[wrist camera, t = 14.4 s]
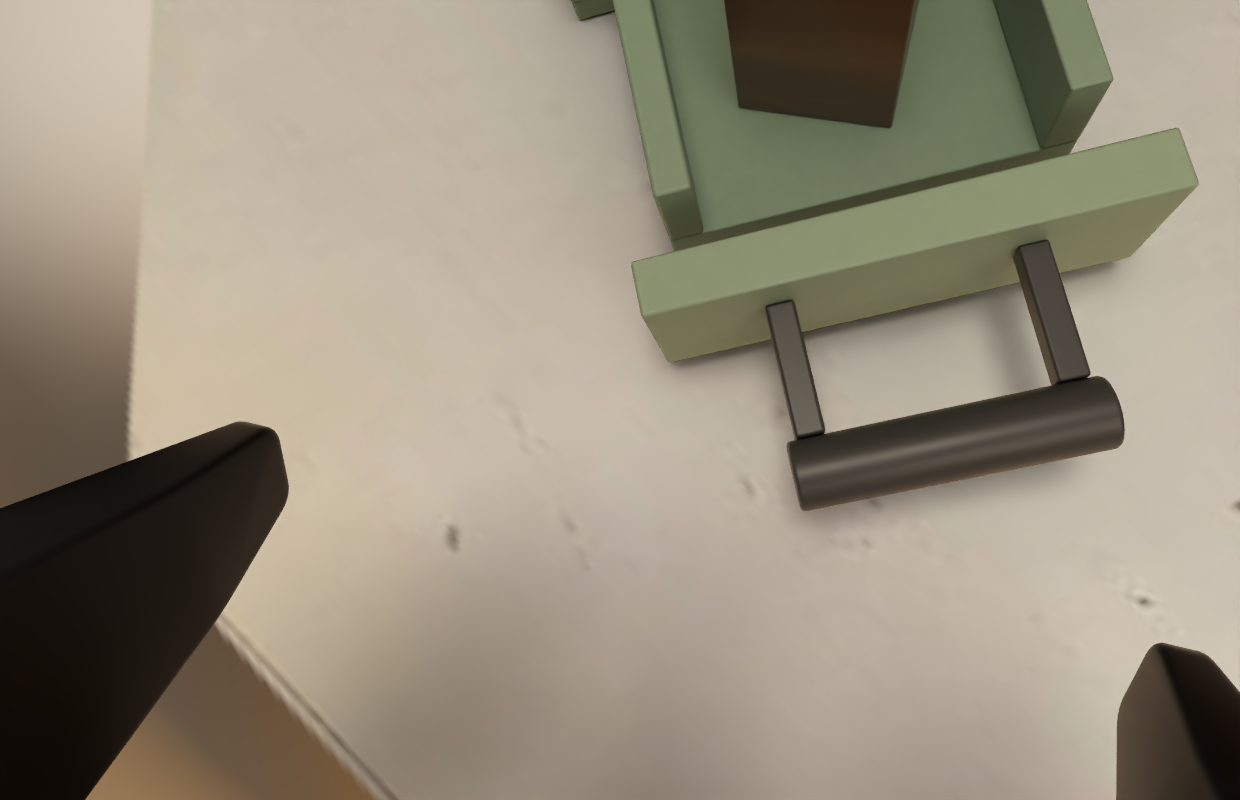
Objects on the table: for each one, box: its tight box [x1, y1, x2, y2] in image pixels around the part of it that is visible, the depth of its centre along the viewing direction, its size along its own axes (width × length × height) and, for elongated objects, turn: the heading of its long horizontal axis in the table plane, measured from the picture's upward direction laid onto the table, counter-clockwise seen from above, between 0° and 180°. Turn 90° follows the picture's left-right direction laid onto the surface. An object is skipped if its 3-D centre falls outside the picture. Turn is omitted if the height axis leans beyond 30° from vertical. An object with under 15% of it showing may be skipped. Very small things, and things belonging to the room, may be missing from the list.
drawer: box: [613, 0, 1198, 511], centre depth 21 cm, size 22×10×4 cm, turn 11°
